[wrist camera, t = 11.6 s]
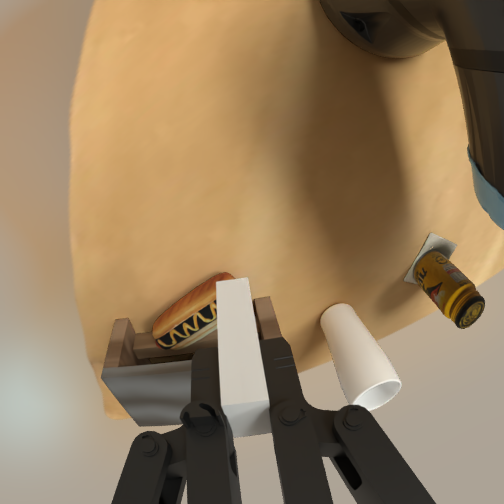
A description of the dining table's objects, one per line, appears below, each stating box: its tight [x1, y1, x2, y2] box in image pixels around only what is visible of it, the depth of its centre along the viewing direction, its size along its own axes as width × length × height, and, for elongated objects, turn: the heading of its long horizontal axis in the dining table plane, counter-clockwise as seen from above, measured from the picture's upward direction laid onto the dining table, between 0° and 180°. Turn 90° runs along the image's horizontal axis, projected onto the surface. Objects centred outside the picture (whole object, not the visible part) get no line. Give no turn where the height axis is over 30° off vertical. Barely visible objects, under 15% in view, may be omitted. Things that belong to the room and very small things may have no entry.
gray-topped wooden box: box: [101, 296, 282, 426], centre depth 37 cm, size 12×21×10 cm, turn 96°
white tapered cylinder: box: [320, 303, 402, 411], centre depth 36 cm, size 7×7×15 cm
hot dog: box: [152, 272, 235, 350], centre depth 36 cm, size 5×13×5 cm, turn 127°
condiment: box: [404, 233, 485, 329], centre depth 36 cm, size 7×8×12 cm
